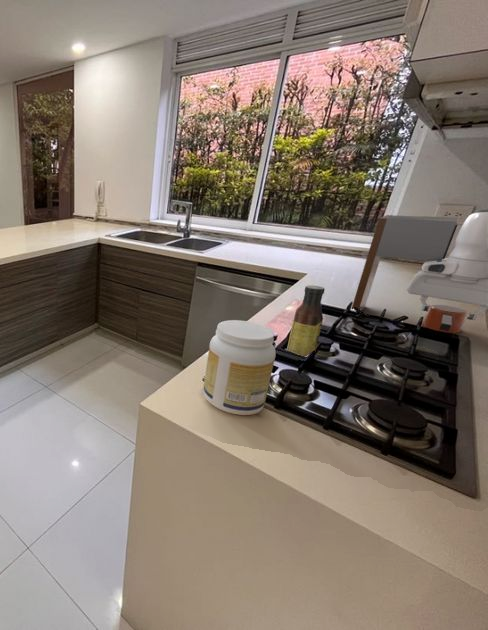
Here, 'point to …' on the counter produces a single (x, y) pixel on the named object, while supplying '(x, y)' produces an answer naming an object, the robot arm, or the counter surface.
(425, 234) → the flag
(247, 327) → the supplement tub
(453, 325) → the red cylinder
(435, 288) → the robot arm
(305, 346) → the sauce bottle
